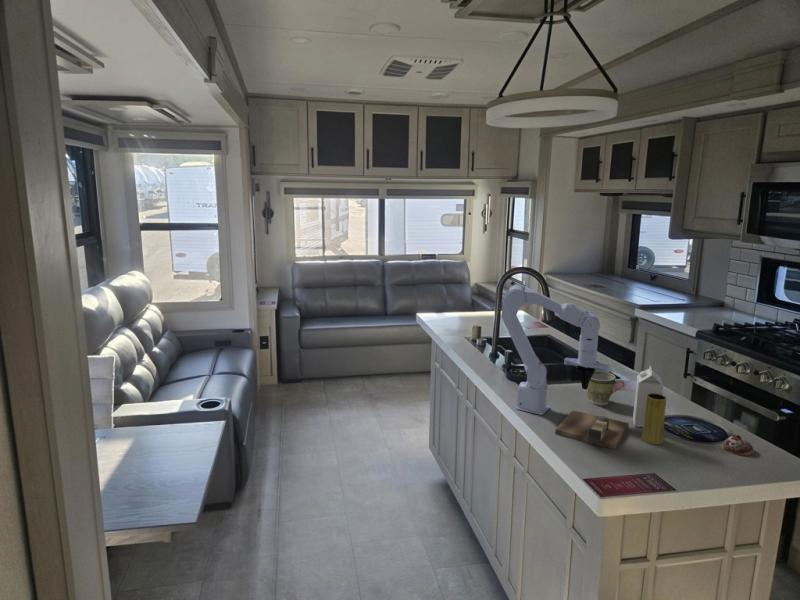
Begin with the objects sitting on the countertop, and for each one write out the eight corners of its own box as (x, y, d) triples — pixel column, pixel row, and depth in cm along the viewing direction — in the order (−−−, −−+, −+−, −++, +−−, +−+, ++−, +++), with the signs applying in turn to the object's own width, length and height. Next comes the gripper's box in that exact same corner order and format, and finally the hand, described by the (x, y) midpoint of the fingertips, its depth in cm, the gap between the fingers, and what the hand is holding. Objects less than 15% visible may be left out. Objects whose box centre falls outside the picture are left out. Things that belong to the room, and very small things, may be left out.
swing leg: (597, 424, 174) (598, 415, 173) (609, 427, 172) (610, 417, 171) (587, 440, 163) (588, 430, 163) (599, 443, 161) (600, 433, 161)
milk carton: (656, 420, 180) (661, 366, 176) (658, 430, 174) (664, 373, 170) (632, 417, 183) (638, 363, 179) (634, 426, 176) (639, 371, 172)
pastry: (717, 449, 162) (720, 434, 161) (726, 441, 167) (728, 426, 166) (748, 459, 156) (750, 443, 155) (756, 451, 161) (759, 435, 160)
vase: (665, 445, 164) (670, 401, 161) (643, 443, 165) (648, 399, 162) (660, 436, 170) (665, 393, 166) (639, 434, 171) (643, 391, 168)
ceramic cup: (581, 404, 194) (583, 377, 192) (586, 394, 202) (588, 369, 200) (620, 411, 188) (623, 383, 186) (623, 401, 197) (626, 374, 194)
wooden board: (555, 433, 171) (555, 428, 171) (572, 414, 186) (572, 409, 185) (614, 449, 162) (615, 444, 161) (628, 427, 176) (628, 422, 175)
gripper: (613, 350, 180) (610, 389, 183) (569, 342, 188) (567, 380, 191) (608, 355, 174) (604, 395, 177) (563, 348, 182) (560, 386, 185)
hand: (584, 388), depth 183 cm, fingers closed
